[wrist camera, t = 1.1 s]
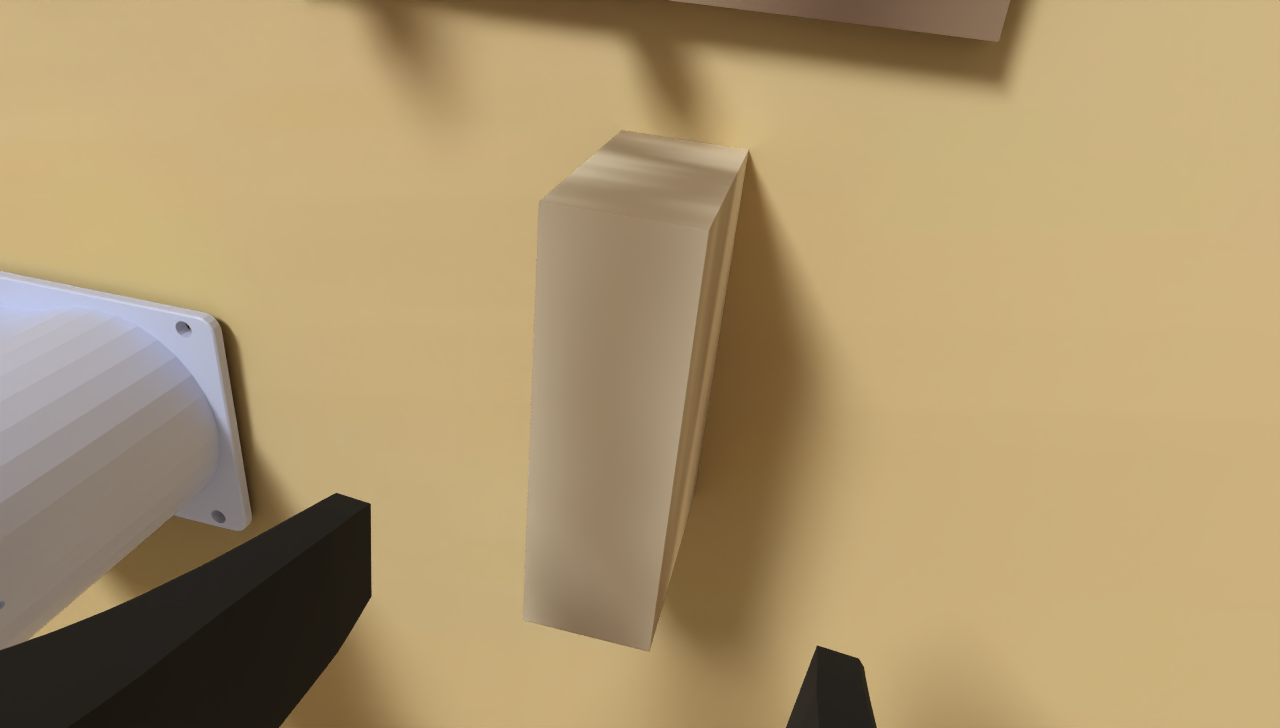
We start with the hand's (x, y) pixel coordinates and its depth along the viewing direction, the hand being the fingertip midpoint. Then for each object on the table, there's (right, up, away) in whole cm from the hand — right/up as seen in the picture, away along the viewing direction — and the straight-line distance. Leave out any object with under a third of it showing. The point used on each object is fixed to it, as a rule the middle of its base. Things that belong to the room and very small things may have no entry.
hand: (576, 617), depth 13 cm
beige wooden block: (+2, +5, +9) cm, 10 cm away
